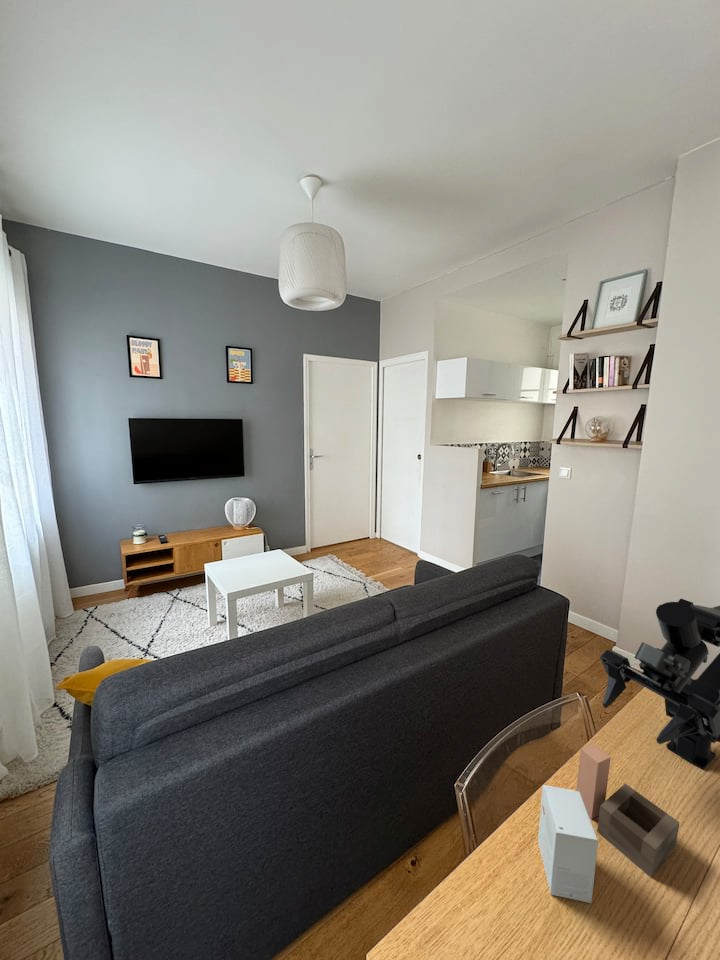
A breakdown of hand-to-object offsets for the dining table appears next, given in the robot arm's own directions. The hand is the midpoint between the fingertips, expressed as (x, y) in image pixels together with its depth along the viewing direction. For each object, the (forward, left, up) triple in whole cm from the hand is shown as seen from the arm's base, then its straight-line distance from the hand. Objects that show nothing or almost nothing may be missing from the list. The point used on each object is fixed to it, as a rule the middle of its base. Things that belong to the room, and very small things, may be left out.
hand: (629, 723), depth 71 cm
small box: (+20, +2, -15) cm, 26 cm away
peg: (+7, -2, -15) cm, 17 cm away
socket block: (+6, +5, -15) cm, 17 cm away
